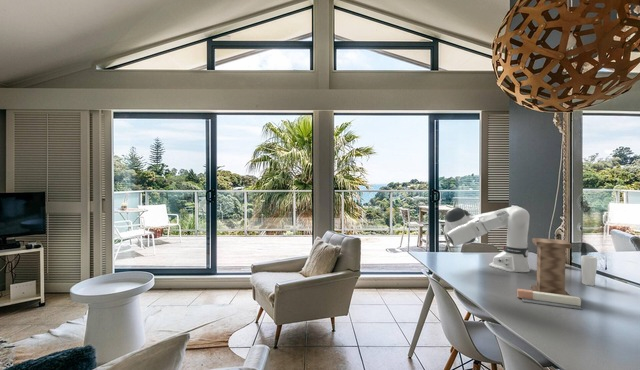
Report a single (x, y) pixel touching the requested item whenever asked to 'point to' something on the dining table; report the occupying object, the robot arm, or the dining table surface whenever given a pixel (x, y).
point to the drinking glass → (588, 269)
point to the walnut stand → (551, 265)
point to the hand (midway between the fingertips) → (507, 213)
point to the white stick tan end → (548, 297)
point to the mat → (550, 303)
